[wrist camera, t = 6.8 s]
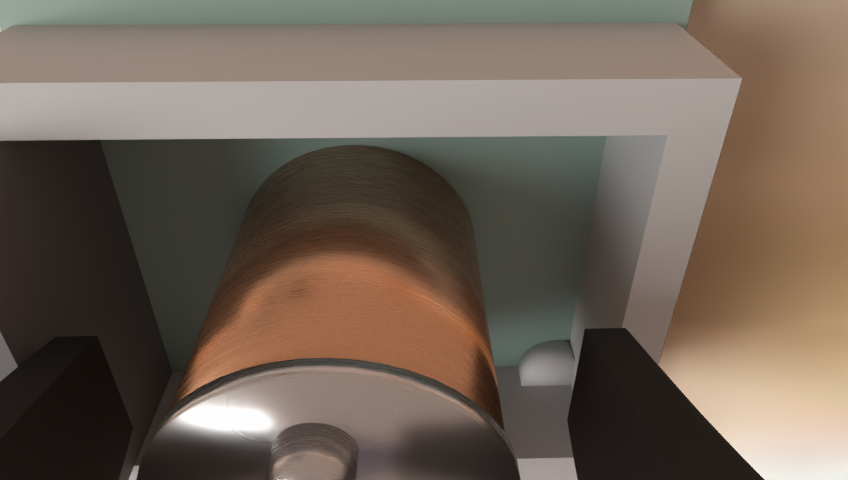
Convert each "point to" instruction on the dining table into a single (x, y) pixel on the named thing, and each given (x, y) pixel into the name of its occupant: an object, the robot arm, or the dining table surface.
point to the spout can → (342, 337)
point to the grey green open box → (353, 125)
